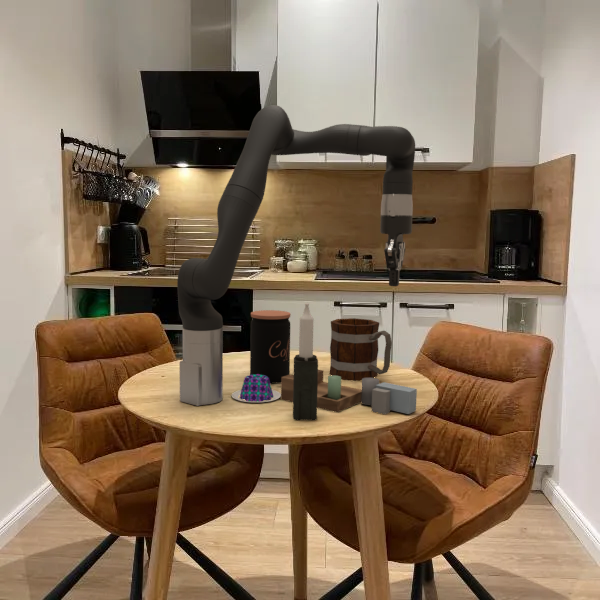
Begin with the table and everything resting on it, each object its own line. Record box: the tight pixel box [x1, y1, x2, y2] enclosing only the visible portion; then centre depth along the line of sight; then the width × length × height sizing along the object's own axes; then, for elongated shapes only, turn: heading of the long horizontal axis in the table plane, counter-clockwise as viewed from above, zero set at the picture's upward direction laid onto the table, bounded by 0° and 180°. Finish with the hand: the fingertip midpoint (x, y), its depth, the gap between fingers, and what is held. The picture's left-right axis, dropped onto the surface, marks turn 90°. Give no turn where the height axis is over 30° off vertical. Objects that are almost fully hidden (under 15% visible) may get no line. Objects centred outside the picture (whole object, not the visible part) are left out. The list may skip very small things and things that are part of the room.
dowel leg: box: [327, 375, 342, 400], centre depth 136 cm, size 3×3×7 cm
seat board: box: [280, 369, 362, 413], centre depth 141 cm, size 12×16×5 cm
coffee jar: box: [249, 309, 292, 384], centre depth 159 cm, size 11×11×18 cm
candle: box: [292, 302, 319, 421], centre depth 128 cm, size 5×5×25 cm
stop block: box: [371, 388, 391, 415], centre depth 133 cm, size 2×4×5 cm, turn 54°
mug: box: [329, 317, 393, 382], centre depth 163 cm, size 20×14×15 cm
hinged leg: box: [360, 377, 418, 415], centre depth 136 cm, size 13×4×6 cm, turn 52°
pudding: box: [231, 374, 281, 403], centre depth 143 cm, size 12×12×5 cm
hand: (393, 285), depth 145 cm, fingers closed
